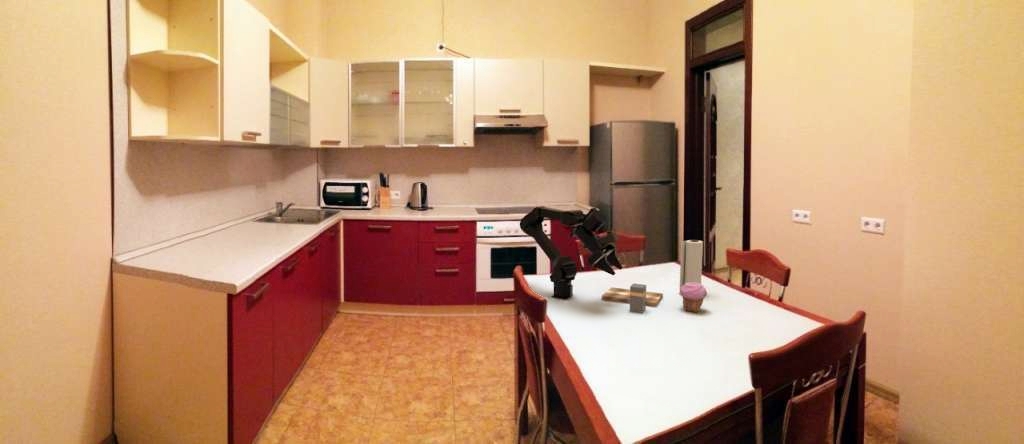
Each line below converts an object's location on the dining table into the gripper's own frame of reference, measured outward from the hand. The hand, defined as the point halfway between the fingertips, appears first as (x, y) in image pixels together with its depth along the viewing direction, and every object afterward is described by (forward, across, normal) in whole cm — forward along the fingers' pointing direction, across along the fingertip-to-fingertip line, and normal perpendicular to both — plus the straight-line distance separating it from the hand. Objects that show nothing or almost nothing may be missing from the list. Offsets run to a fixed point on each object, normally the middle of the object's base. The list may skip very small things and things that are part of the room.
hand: (618, 271), depth 162 cm
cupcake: (+27, +9, -8) cm, 29 cm away
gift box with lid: (+14, 0, +4) cm, 15 cm away
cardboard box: (+11, +13, +8) cm, 19 cm away
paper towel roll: (+24, +28, -5) cm, 38 cm away
